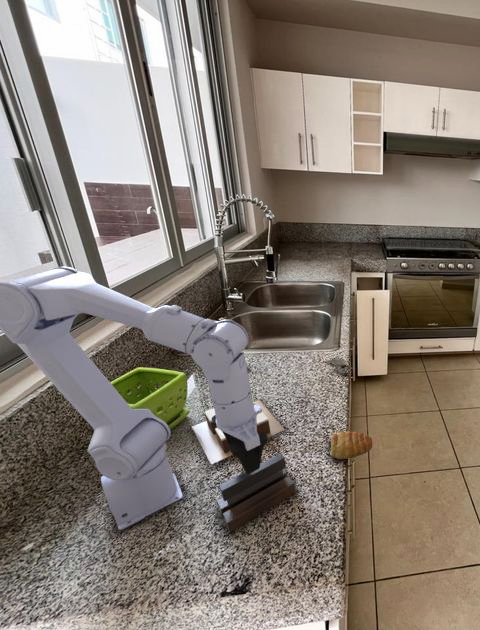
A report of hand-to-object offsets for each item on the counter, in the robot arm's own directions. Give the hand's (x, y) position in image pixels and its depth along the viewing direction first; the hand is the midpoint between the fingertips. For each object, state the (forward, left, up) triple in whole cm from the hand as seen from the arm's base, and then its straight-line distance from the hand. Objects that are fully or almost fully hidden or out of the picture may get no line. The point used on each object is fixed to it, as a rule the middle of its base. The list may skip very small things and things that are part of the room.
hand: (245, 457), depth 61 cm
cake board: (+4, +22, -10) cm, 24 cm away
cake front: (+5, +17, -10) cm, 20 cm away
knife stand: (0, -1, -10) cm, 10 cm away
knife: (+1, -1, -10) cm, 10 cm away
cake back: (+4, +25, -10) cm, 28 cm away
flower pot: (-11, +36, -10) cm, 39 cm away
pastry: (+20, -1, -10) cm, 23 cm away
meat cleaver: (+38, +31, -10) cm, 50 cm away
